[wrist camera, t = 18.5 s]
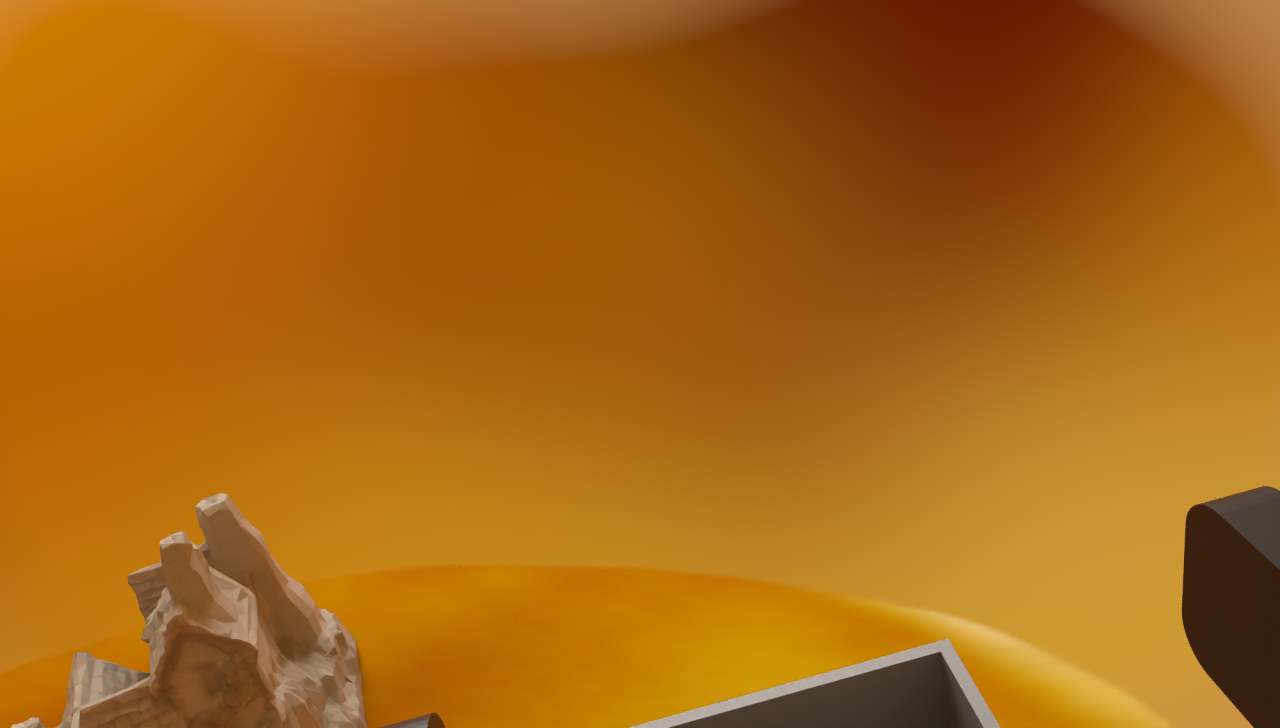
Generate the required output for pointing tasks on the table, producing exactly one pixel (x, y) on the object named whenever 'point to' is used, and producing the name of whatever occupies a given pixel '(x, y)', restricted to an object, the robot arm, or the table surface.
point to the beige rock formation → (222, 644)
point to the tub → (858, 698)
